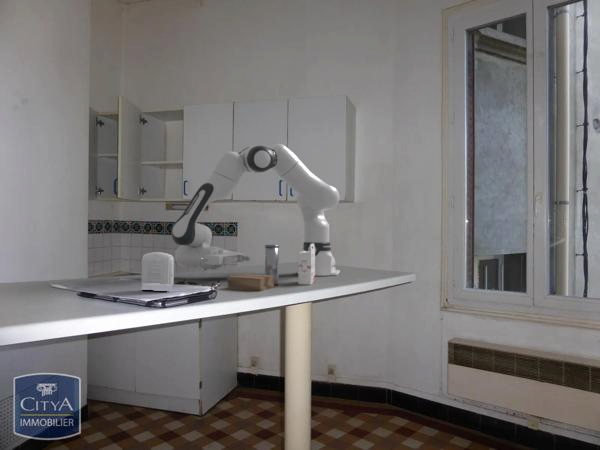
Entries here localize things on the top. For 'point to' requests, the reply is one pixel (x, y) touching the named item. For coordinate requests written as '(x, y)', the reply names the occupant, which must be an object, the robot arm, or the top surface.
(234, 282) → the walnut plinth
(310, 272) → the ink cartridge box
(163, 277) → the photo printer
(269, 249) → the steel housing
